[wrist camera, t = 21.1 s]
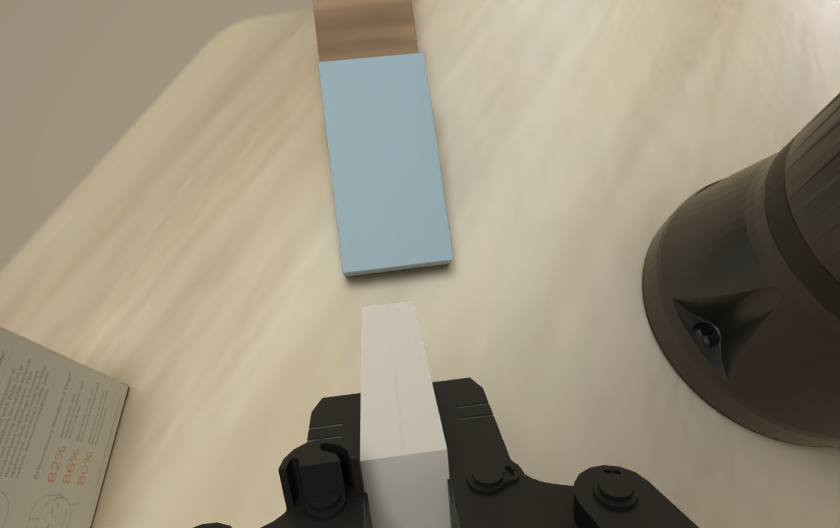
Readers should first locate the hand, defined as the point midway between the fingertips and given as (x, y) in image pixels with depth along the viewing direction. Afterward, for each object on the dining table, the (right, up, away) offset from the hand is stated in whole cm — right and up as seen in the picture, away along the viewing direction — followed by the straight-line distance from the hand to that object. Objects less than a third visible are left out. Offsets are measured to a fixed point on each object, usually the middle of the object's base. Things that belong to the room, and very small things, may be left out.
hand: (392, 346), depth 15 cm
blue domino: (0, +2, +14) cm, 14 cm away
